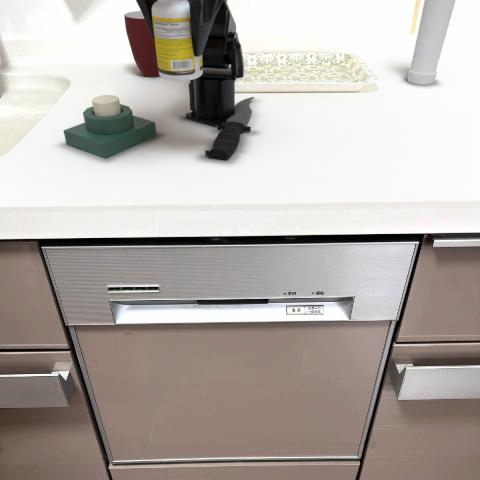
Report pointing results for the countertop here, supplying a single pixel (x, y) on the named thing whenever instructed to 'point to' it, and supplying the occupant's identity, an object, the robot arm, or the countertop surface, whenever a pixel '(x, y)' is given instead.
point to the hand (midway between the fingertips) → (178, 52)
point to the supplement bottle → (175, 41)
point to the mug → (141, 43)
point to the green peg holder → (109, 132)
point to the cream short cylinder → (106, 105)
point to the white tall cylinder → (430, 40)
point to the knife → (231, 132)
